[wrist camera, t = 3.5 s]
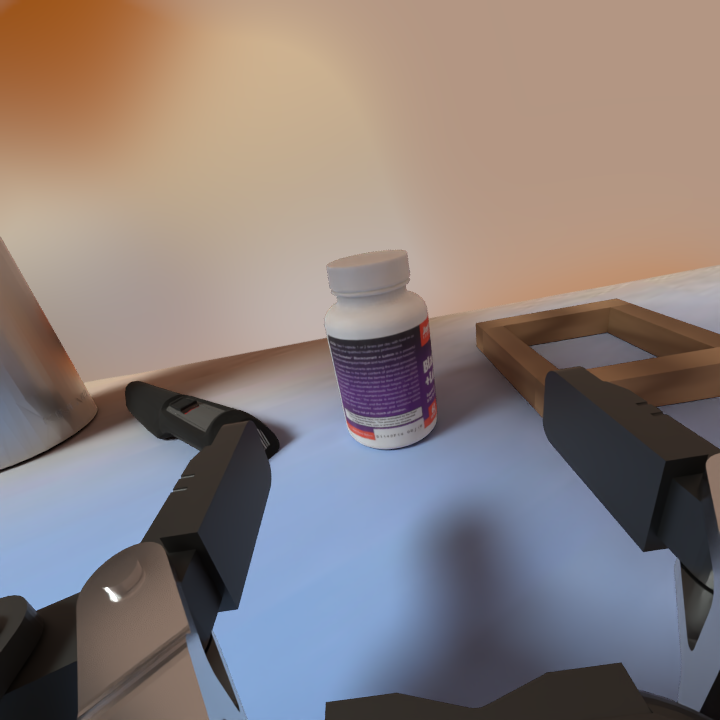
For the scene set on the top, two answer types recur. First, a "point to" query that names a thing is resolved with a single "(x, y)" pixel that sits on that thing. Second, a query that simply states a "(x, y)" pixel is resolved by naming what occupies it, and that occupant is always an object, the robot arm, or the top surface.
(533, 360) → the socket block
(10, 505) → the top surface
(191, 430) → the electric trimmer
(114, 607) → the robot arm
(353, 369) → the pill bottle
